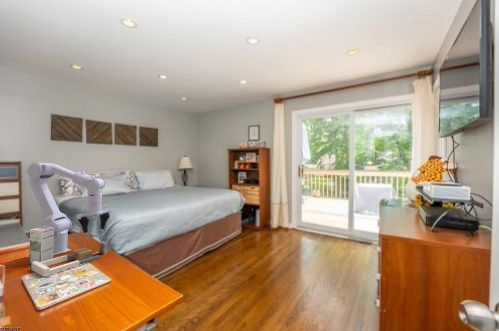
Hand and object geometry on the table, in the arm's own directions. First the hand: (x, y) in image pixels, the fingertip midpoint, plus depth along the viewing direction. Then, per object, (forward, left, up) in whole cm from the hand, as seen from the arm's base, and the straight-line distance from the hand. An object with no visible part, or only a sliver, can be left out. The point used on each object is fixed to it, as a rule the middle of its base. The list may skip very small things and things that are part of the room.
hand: (94, 230), depth 109 cm
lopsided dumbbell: (+5, -3, -10) cm, 12 cm away
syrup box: (-8, -17, -11) cm, 22 cm away
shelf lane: (+5, -16, -10) cm, 20 cm away
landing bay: (+5, -7, -10) cm, 13 cm away
